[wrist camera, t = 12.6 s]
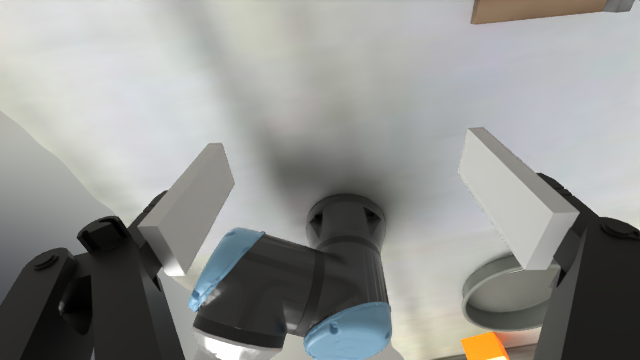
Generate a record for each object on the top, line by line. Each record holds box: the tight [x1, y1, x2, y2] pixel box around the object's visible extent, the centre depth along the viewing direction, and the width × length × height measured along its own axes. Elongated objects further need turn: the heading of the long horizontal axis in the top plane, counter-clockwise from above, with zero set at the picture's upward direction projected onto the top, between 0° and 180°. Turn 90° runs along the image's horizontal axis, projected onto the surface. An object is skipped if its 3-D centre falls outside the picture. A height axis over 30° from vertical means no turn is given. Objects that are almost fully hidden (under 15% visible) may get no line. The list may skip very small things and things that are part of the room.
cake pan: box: [462, 256, 560, 331], centre depth 60 cm, size 25×25×4 cm
